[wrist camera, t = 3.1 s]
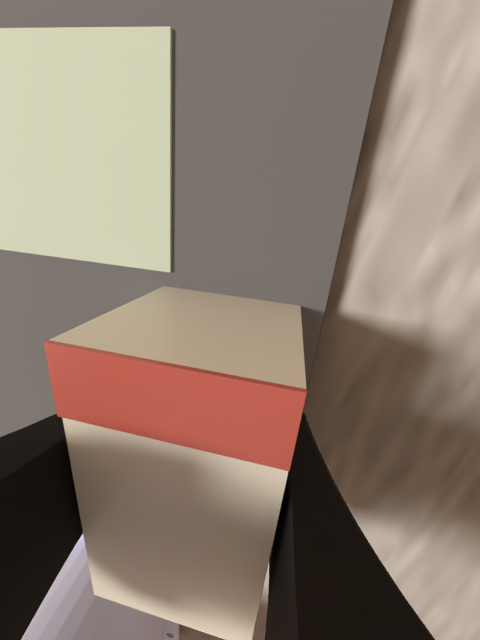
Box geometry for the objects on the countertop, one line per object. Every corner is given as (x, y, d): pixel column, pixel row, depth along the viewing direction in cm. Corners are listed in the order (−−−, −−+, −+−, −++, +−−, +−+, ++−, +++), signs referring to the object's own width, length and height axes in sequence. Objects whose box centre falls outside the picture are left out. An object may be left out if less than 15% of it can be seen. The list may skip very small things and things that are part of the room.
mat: (280, 505, 12) (279, 519, 11) (-2, 433, 14) (-14, 441, 14) (442, -244, 5) (461, -307, 4) (-174, -155, 7) (-214, -187, 6)
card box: (266, 488, 11) (249, 653, 7) (165, 463, 12) (91, 599, 7) (300, 305, 8) (307, 392, 4) (164, 285, 9) (43, 342, 5)
